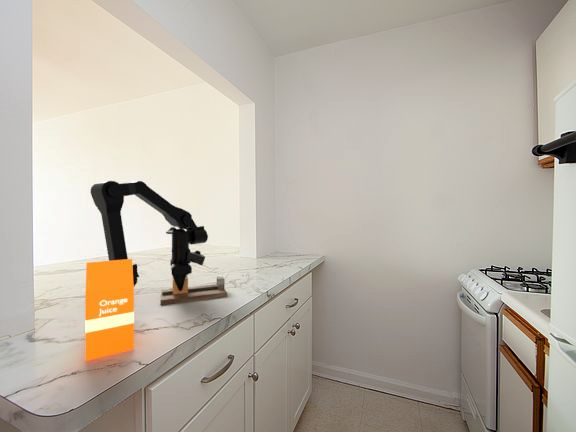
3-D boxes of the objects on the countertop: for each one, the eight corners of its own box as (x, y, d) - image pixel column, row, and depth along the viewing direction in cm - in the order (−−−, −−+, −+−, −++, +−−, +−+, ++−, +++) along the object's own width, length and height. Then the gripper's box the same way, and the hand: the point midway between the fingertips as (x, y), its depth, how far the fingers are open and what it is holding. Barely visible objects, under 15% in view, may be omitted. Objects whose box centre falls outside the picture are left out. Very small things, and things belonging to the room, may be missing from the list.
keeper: (188, 292, 94) (188, 278, 94) (172, 294, 92) (172, 280, 92) (187, 289, 98) (187, 275, 98) (172, 291, 96) (172, 277, 96)
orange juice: (87, 345, 60) (86, 259, 60) (131, 335, 66) (131, 256, 65) (85, 362, 54) (84, 265, 54) (134, 349, 59) (134, 261, 59)
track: (226, 296, 96) (227, 281, 96) (160, 304, 87) (160, 288, 87) (220, 287, 107) (220, 274, 107) (160, 294, 97) (160, 279, 97)
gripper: (207, 248, 90) (207, 293, 90) (200, 242, 106) (200, 280, 107) (171, 249, 85) (171, 297, 85) (170, 243, 102) (170, 283, 102)
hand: (180, 288), depth 95 cm, fingers closed on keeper, 4 cm apart
